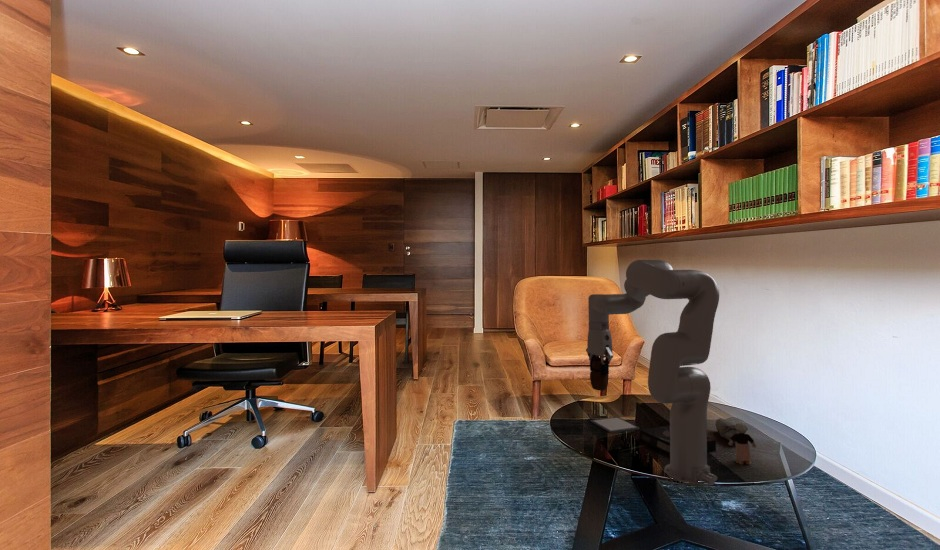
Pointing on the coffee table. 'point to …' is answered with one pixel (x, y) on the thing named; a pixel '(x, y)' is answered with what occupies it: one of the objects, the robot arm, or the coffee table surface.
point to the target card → (614, 424)
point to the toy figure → (742, 443)
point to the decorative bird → (726, 428)
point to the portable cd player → (666, 439)
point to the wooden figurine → (598, 375)
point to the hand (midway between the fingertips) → (599, 372)
